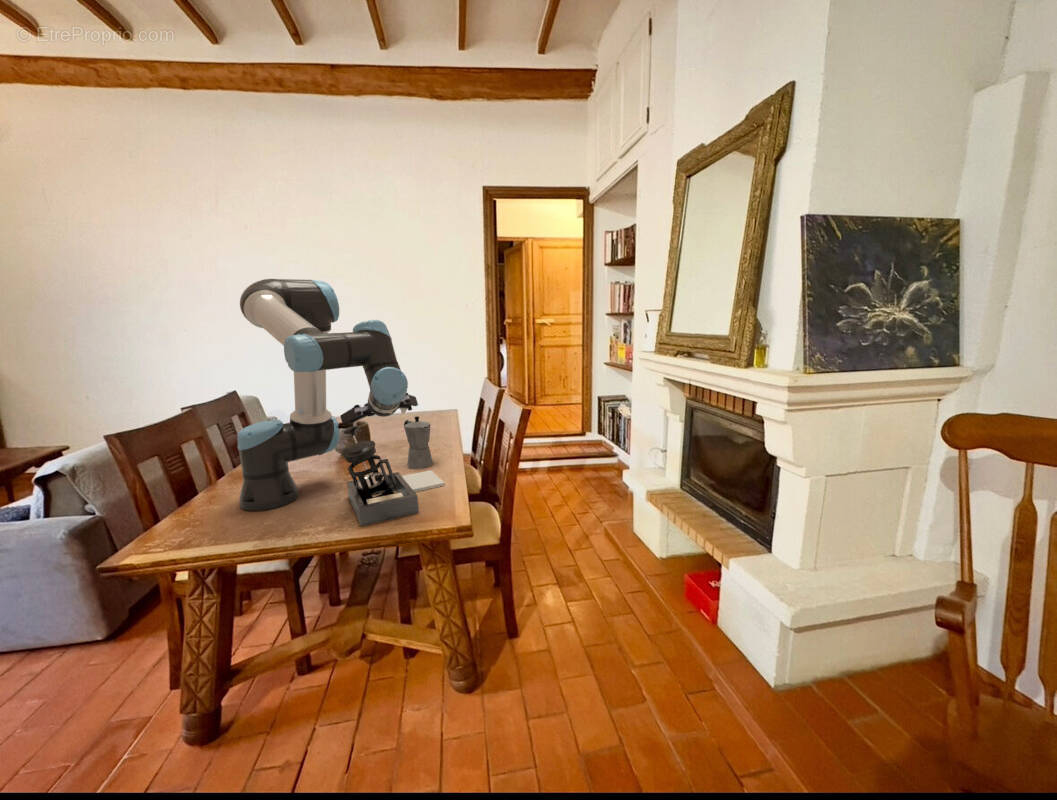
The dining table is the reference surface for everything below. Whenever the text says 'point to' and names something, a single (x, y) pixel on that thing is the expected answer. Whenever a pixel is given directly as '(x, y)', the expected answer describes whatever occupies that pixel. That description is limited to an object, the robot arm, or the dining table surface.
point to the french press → (375, 479)
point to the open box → (384, 503)
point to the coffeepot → (418, 443)
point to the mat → (423, 480)
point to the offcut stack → (383, 498)
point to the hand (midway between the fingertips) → (378, 415)
